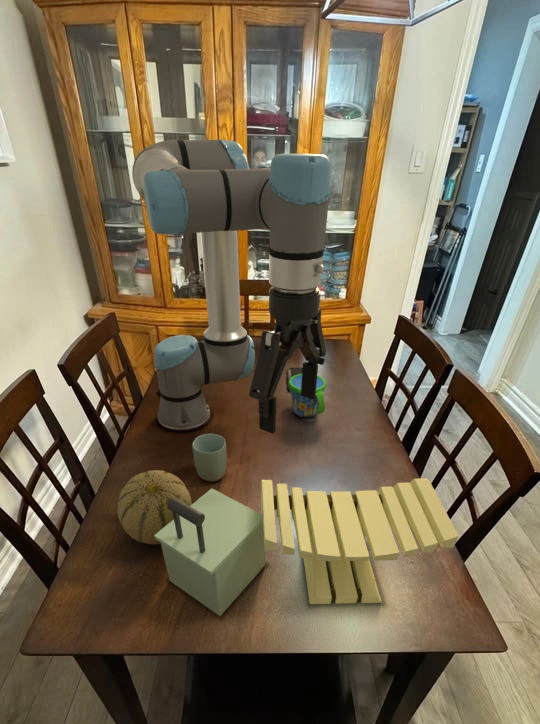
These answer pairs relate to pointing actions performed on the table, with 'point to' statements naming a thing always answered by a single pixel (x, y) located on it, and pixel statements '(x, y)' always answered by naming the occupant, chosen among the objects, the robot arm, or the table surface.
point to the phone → (293, 372)
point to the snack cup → (303, 404)
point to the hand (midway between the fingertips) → (288, 412)
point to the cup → (210, 456)
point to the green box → (218, 573)
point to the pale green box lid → (208, 529)
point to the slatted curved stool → (353, 533)
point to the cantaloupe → (149, 504)
